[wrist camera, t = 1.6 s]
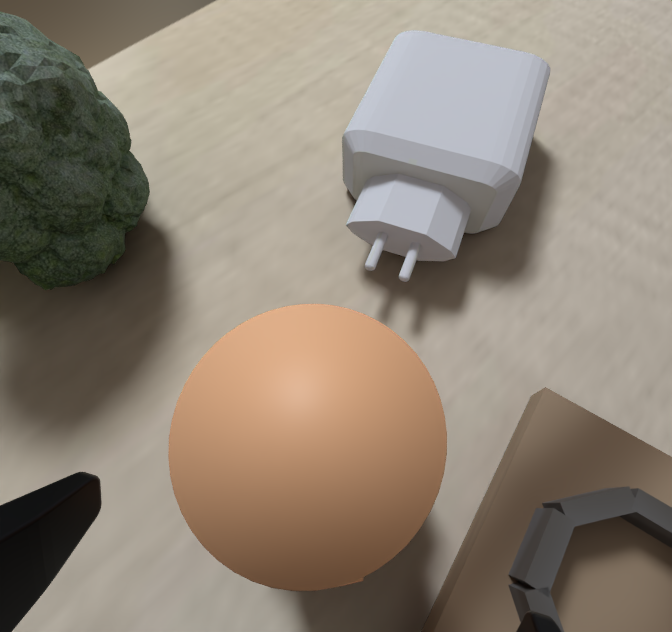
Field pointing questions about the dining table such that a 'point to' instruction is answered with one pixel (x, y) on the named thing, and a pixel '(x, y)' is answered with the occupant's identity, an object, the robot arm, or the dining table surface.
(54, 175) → the vegetable
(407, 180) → the charger
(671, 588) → the gear board
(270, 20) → the dining table surface
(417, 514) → the gear spindle
